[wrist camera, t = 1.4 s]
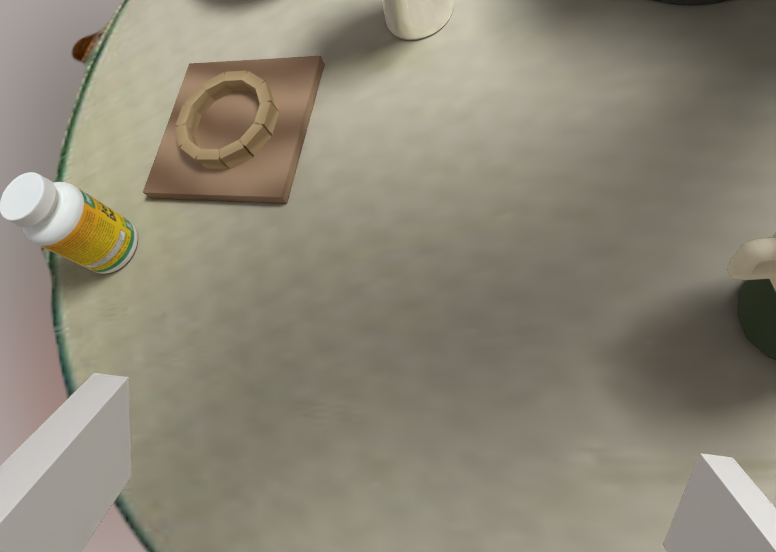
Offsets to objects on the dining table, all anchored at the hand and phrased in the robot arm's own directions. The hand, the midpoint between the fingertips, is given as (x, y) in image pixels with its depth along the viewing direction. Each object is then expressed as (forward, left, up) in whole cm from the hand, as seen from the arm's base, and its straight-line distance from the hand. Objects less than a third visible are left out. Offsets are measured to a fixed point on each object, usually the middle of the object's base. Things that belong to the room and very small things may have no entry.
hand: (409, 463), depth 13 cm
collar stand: (-25, -27, -23) cm, 43 cm away
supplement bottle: (-13, -36, -23) cm, 45 cm away
